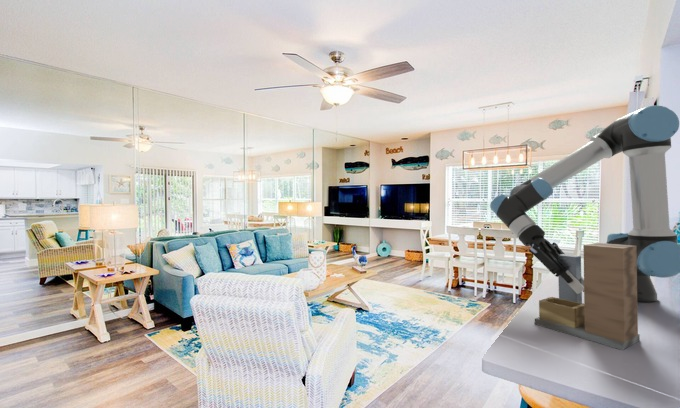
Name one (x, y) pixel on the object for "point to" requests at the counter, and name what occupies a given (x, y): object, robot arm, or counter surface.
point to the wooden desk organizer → (600, 299)
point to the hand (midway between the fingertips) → (584, 290)
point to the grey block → (574, 267)
